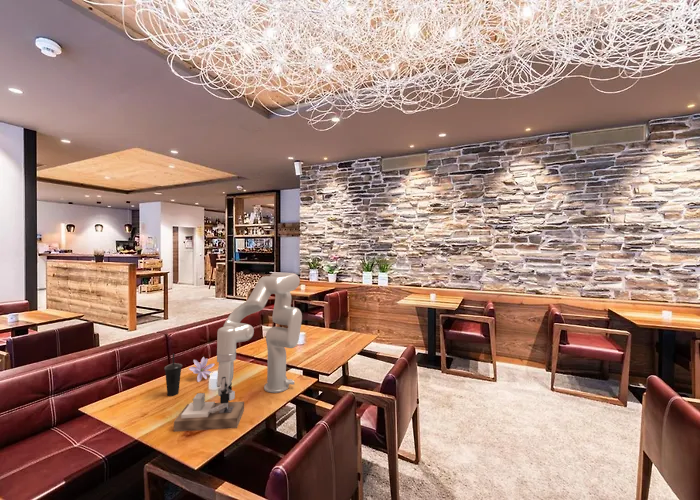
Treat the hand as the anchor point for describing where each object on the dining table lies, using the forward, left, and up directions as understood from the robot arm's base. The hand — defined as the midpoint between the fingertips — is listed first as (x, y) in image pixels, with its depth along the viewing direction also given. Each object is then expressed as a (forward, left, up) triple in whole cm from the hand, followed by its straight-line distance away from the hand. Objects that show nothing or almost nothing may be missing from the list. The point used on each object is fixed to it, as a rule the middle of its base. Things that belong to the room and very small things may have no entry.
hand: (226, 398), depth 133 cm
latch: (+2, +2, -4) cm, 5 cm away
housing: (+6, 0, -9) cm, 11 cm away
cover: (+11, 0, -5) cm, 12 cm away
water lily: (+24, -45, -9) cm, 52 cm away
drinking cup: (+32, -27, -9) cm, 43 cm away
